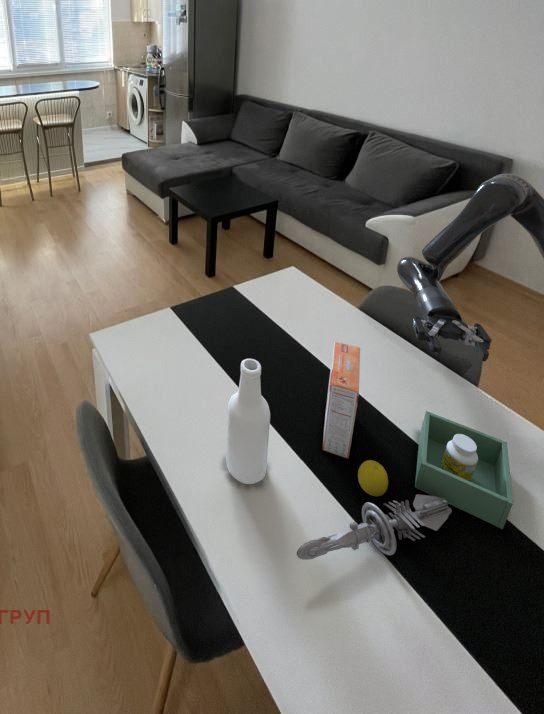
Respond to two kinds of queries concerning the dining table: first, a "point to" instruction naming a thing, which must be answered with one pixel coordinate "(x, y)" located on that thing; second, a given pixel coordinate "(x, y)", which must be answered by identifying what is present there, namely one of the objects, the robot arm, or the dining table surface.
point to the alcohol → (248, 427)
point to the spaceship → (382, 527)
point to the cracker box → (342, 399)
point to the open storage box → (478, 497)
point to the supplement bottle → (460, 457)
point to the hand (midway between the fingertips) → (461, 355)
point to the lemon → (373, 478)
